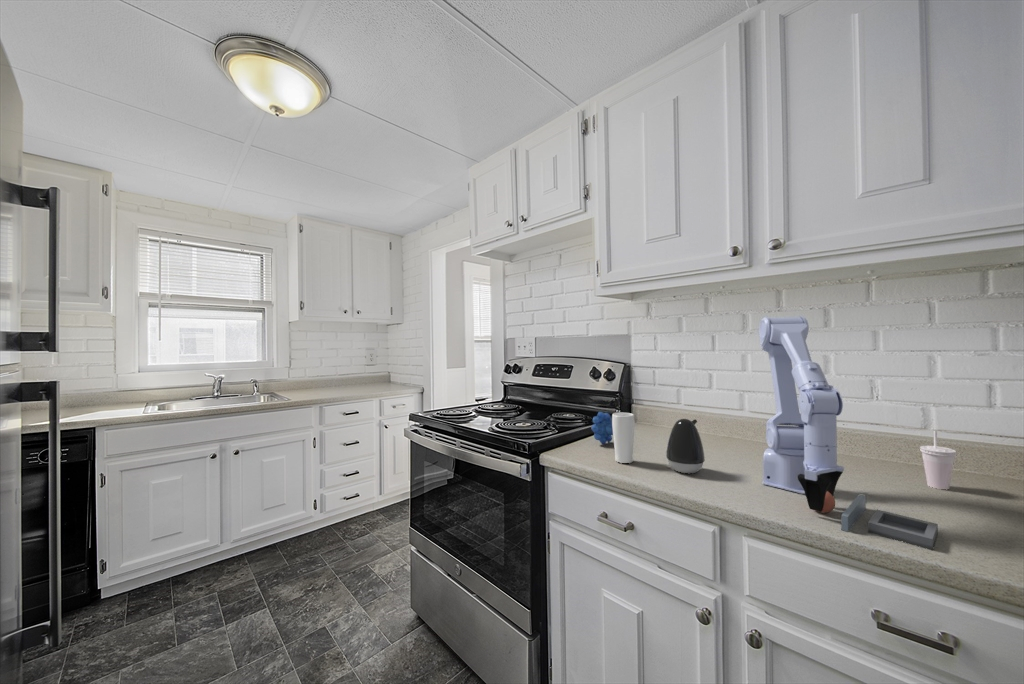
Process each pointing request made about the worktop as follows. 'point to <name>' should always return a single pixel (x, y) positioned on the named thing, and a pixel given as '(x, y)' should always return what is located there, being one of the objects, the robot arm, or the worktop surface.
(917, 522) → the tray
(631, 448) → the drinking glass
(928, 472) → the smoothie
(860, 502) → the low wall
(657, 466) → the worktop surface
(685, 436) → the black egg-shaped device
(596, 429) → the grapes
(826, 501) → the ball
